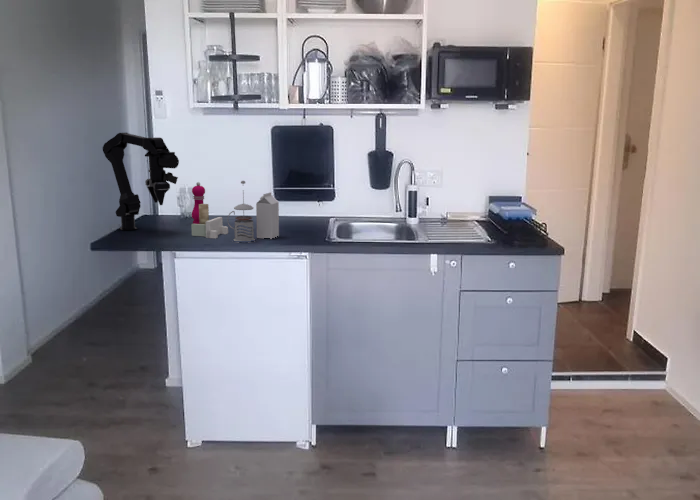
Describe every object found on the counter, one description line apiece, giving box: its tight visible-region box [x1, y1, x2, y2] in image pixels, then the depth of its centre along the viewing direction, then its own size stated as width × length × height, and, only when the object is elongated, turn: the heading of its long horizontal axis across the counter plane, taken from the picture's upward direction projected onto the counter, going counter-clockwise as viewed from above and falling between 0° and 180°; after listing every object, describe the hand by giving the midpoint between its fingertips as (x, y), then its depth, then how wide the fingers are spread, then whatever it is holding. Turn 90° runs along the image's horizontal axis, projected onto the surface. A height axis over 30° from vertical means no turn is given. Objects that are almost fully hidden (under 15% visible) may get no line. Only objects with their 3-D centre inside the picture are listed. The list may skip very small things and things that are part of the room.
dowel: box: [199, 203, 210, 225], centre depth 275 cm, size 4×4×12 cm
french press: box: [227, 180, 256, 241], centre depth 263 cm, size 10×12×25 cm
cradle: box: [190, 223, 206, 238], centre depth 276 cm, size 8×9×5 cm
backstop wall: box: [205, 216, 229, 239], centre depth 274 cm, size 4×12×7 cm, turn 165°
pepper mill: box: [191, 181, 206, 224], centre depth 298 cm, size 7×7×20 cm
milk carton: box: [255, 191, 280, 240], centre depth 271 cm, size 7×7×19 cm
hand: (158, 203), depth 274 cm, fingers open, 9 cm apart
